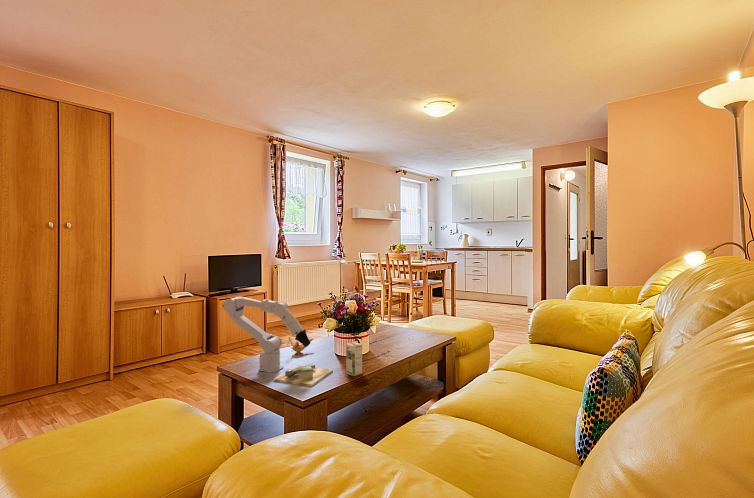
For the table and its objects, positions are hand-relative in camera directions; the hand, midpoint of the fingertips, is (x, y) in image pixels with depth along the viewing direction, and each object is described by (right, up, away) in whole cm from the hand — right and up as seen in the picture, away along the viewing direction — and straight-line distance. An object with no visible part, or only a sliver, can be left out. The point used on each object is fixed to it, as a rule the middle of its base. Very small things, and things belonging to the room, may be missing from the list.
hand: (308, 345), depth 182 cm
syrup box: (+23, -13, -3) cm, 26 cm away
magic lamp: (-10, -13, +30) cm, 34 cm away
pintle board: (-1, -13, -6) cm, 14 cm away
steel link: (-3, -11, -6) cm, 13 cm away
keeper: (0, -12, -10) cm, 16 cm away
